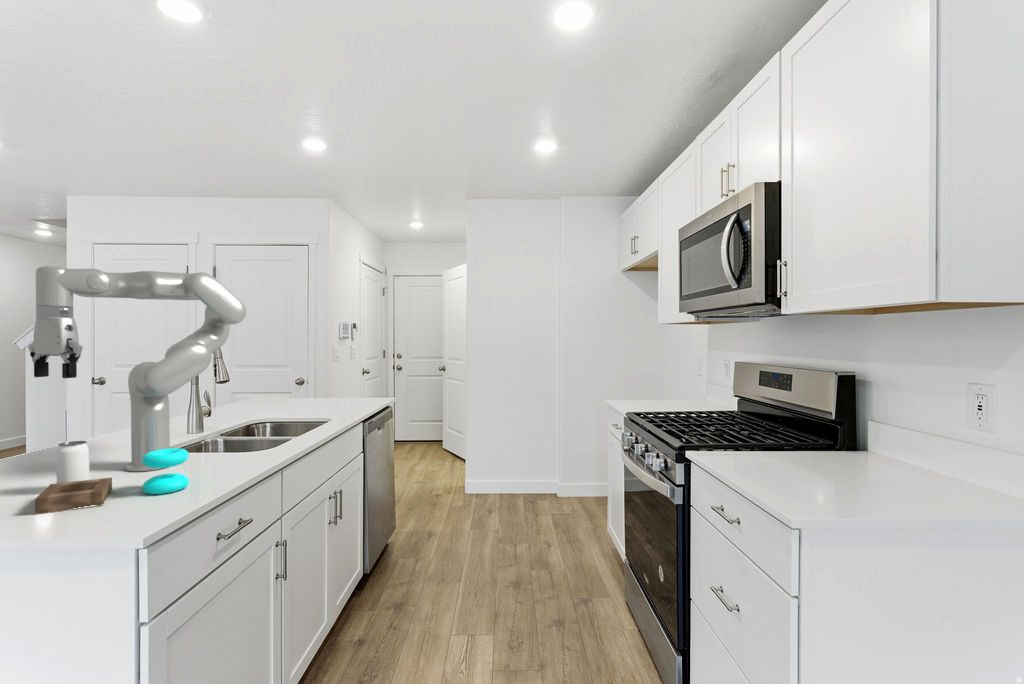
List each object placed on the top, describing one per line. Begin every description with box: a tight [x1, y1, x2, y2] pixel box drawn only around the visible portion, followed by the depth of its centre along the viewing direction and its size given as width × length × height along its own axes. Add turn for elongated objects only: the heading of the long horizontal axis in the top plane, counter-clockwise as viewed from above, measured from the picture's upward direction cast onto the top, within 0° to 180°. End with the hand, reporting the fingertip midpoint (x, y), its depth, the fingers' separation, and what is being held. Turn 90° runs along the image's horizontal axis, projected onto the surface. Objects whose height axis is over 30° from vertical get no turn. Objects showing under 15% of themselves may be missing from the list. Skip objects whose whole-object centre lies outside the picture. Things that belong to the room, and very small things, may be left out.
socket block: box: [34, 477, 113, 515], centre depth 124 cm, size 12×13×4 cm
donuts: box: [142, 447, 190, 495], centre depth 134 cm, size 10×10×10 cm
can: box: [55, 440, 90, 484], centre depth 134 cm, size 6×6×12 cm
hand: (55, 377), depth 138 cm, fingers open, 9 cm apart
